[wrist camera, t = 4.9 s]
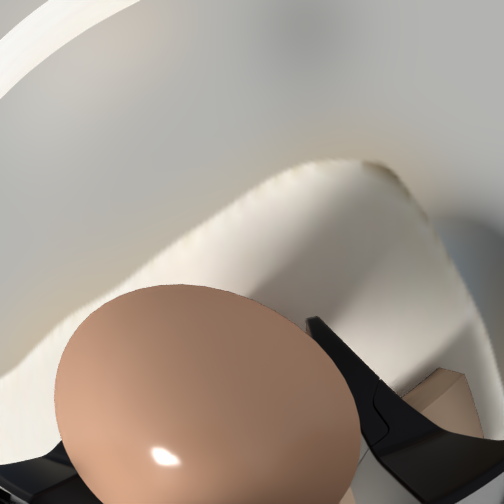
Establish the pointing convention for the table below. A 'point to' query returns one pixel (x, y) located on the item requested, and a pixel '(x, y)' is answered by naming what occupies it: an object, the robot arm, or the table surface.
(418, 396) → the walnut plinth
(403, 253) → the table surface
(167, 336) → the peach dome-topped cylinder
